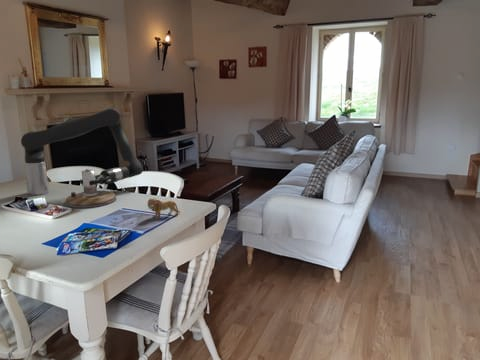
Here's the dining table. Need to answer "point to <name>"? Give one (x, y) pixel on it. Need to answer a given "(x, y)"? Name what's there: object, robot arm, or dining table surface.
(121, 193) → the dining table surface
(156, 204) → the lion figurine
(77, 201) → the turntable
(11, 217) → the dining table surface
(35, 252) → the dining table surface
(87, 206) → the turntable base
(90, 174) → the canister
